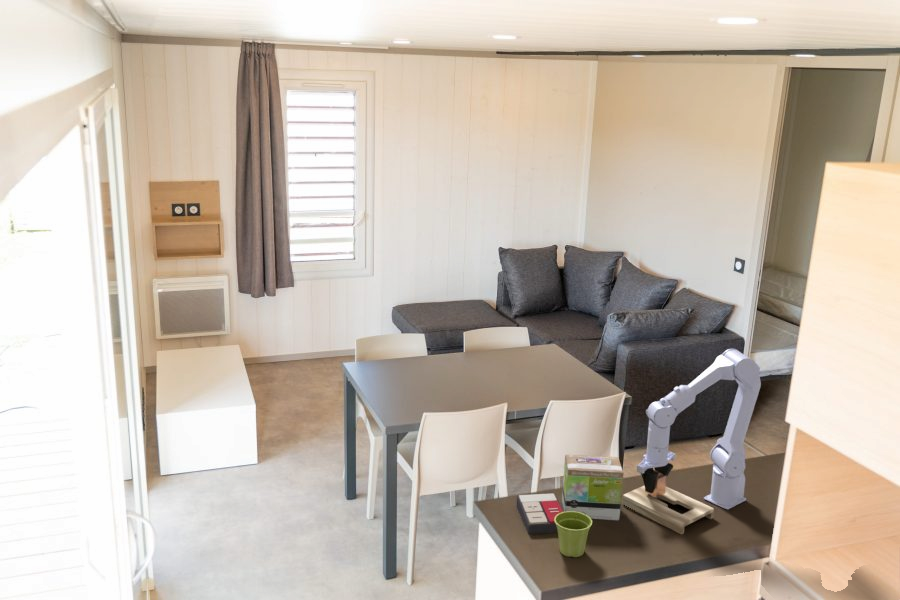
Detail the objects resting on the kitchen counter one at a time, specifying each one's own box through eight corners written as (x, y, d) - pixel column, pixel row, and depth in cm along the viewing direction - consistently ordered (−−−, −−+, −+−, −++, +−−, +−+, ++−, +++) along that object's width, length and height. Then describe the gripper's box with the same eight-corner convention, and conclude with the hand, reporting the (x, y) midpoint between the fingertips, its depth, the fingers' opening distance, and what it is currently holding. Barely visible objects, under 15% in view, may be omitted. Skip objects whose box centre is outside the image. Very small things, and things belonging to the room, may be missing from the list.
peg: (652, 499, 227) (654, 469, 225) (665, 505, 224) (667, 475, 222) (642, 503, 224) (645, 473, 222) (655, 510, 221) (657, 479, 219)
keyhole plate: (653, 490, 233) (654, 481, 232) (712, 518, 217) (713, 508, 217) (622, 504, 224) (622, 494, 224) (681, 534, 209) (682, 524, 208)
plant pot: (545, 549, 201) (546, 518, 199) (571, 537, 207) (572, 507, 205) (572, 566, 194) (573, 534, 192) (598, 553, 200) (600, 522, 198)
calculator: (528, 523, 207) (516, 493, 222) (528, 537, 209) (516, 506, 223) (569, 520, 209) (555, 490, 223) (568, 535, 210) (554, 504, 224)
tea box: (564, 519, 216) (567, 469, 212) (561, 501, 226) (564, 453, 222) (620, 521, 215) (624, 471, 212) (615, 503, 225) (618, 455, 221)
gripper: (662, 433, 227) (658, 477, 231) (629, 446, 219) (626, 491, 222) (683, 441, 222) (679, 486, 225) (650, 455, 213) (646, 501, 217)
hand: (654, 489), depth 223 cm, fingers closed on peg, 4 cm apart
